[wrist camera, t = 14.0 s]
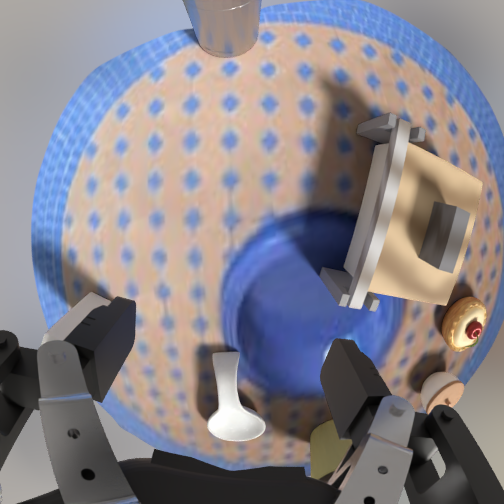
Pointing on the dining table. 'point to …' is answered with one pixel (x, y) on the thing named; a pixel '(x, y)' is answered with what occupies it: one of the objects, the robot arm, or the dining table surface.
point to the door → (416, 226)
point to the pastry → (464, 323)
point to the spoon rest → (232, 404)
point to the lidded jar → (441, 390)
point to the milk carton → (74, 317)
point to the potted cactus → (326, 451)
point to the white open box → (366, 208)
